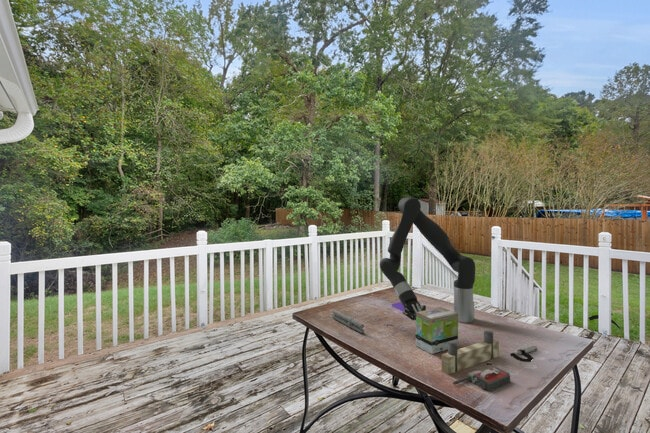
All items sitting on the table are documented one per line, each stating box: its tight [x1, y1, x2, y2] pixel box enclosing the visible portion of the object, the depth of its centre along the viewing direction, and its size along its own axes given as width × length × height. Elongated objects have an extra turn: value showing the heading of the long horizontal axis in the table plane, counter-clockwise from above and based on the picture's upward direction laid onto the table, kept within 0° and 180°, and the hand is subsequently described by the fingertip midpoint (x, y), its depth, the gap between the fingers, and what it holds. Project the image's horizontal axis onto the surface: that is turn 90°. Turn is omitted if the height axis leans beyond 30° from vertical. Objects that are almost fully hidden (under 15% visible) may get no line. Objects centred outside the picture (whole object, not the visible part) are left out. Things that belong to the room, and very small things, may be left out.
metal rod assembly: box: [331, 309, 365, 334], centre depth 163 cm, size 26×3×5 cm, turn 30°
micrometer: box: [509, 345, 538, 363], centre depth 127 cm, size 15×7×2 cm, turn 114°
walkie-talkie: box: [452, 367, 511, 392], centre depth 108 cm, size 9×4×20 cm
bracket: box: [391, 301, 405, 312], centre depth 189 cm, size 12×7×7 cm, turn 24°
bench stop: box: [441, 329, 500, 375], centre depth 122 cm, size 28×3×10 cm, turn 118°
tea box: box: [415, 306, 459, 355], centre depth 137 cm, size 15×10×15 cm, turn 117°
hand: (424, 327), depth 143 cm, fingers closed
